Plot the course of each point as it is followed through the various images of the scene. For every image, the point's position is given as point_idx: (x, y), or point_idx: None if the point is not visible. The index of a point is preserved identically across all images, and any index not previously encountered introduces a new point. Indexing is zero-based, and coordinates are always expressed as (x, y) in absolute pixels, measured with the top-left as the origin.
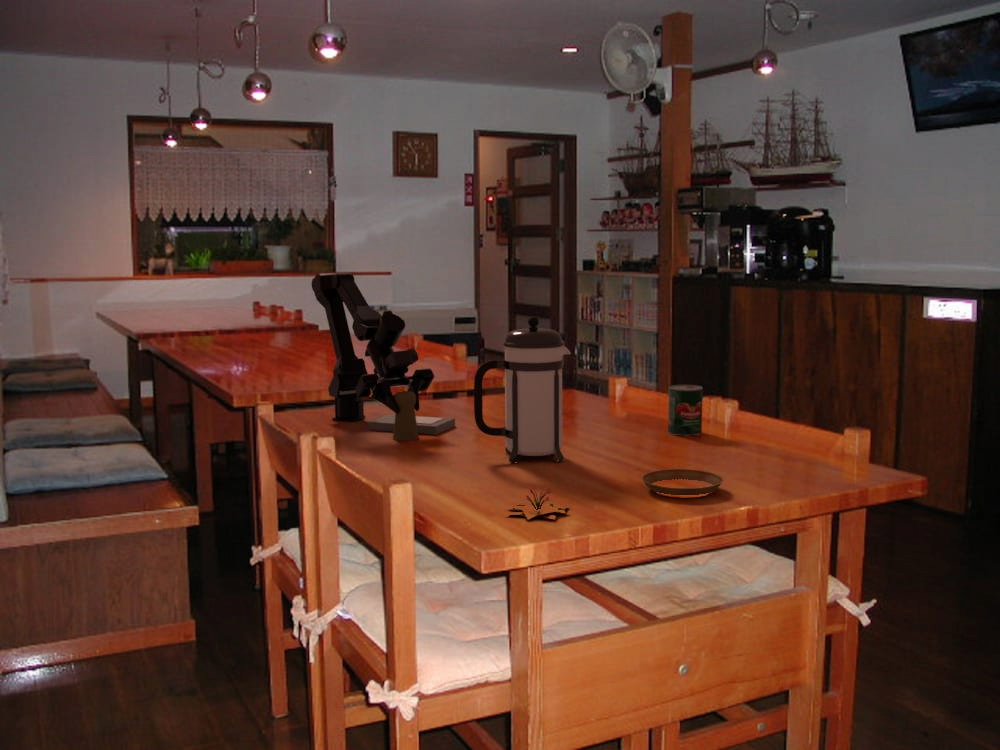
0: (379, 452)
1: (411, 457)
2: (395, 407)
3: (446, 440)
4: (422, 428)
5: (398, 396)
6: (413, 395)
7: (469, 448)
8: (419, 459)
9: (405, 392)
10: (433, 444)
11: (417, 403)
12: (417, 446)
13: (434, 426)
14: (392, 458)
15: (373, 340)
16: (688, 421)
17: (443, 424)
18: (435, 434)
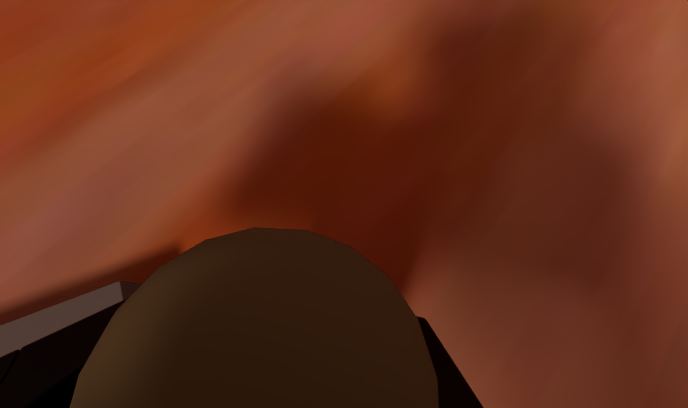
0: (588, 190)
1: (529, 50)
2: (445, 349)
3: (229, 155)
4: None
5: (429, 370)
6: (222, 238)
7: (289, 8)
8: (523, 15)
9: (290, 342)
10: (325, 139)
11: None
12: (398, 159)
13: (121, 291)
14: (593, 83)
15: None
16: None
17: (12, 323)
18: None
